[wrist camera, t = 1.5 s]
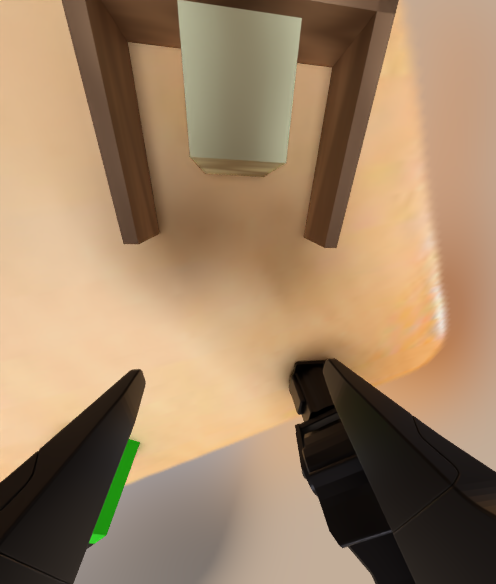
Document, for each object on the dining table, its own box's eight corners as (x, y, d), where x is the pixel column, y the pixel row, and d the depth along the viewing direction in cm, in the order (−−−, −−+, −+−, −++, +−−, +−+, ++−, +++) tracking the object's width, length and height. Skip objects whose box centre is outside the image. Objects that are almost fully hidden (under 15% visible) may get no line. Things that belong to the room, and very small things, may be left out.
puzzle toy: (52, 452, 31) (-18, 554, 22) (78, 423, 28) (10, 526, 20) (112, 466, 35) (72, 558, 26) (140, 441, 32) (106, 535, 23)
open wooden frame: (349, 48, 13) (403, -18, 9) (313, 237, 19) (336, 247, 15) (105, 15, 11) (40, -84, 7) (148, 233, 17) (123, 243, 13)
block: (268, 98, 14) (301, 18, 8) (263, 176, 16) (285, 163, 10) (200, 91, 13) (177, -1, 7) (205, 173, 16) (189, 156, 9)
